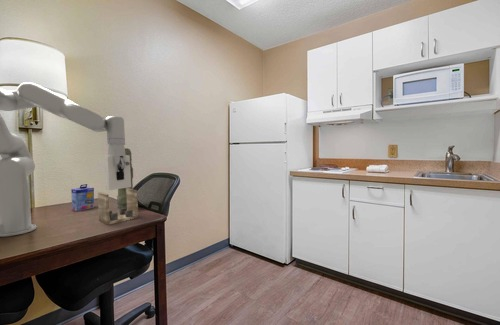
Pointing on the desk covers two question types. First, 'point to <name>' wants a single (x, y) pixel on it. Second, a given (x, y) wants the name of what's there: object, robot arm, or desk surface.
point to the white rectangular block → (112, 177)
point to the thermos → (122, 192)
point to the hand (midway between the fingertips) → (118, 179)
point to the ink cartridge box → (82, 198)
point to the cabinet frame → (125, 213)
